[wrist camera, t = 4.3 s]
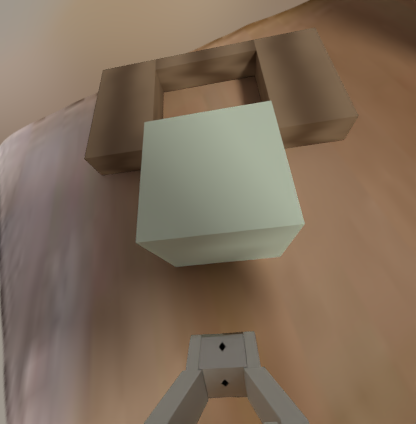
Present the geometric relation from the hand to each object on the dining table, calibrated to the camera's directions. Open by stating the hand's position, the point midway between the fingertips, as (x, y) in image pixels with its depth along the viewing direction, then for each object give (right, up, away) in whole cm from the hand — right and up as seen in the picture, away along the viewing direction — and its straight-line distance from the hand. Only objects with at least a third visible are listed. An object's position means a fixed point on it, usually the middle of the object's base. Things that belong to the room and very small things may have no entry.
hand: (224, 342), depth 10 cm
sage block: (+1, +6, +10) cm, 12 cm away
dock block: (0, +18, +16) cm, 24 cm away
